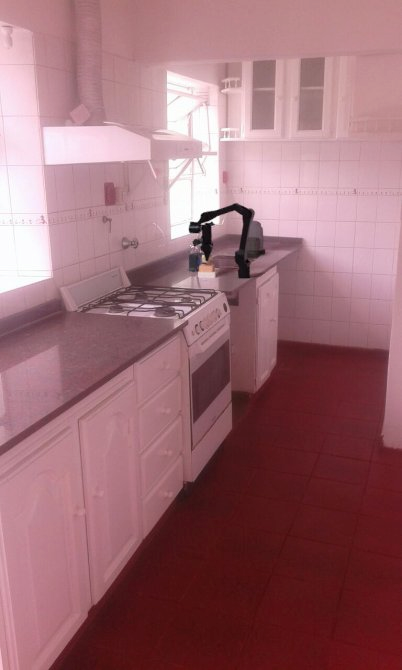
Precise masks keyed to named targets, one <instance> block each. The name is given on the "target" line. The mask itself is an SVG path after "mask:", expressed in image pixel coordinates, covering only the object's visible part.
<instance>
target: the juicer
mask: <svg viewBox="0 0 402 670" xmlns="http://www.w3.org/2000/svg"><path fill="white" fill-rule="evenodd" d="M265 254H266V249H265V248H264V228H263V227H262V224H261V222H259V221H257V220H253V221H252V223H251V225H250V231H249V237H248V243H247V259H258V258H259V257H261V256H263V255H265Z"/></svg>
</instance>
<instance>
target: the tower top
mask: <svg viewBox="0 0 402 670" xmlns="http://www.w3.org/2000/svg"><path fill="white" fill-rule="evenodd" d="M214 270H216V264H215V263H206V264H201V265H200V266H199V271H198V272H213V271H214Z"/></svg>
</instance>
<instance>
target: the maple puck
mask: <svg viewBox="0 0 402 670" xmlns="http://www.w3.org/2000/svg"><path fill="white" fill-rule="evenodd" d="M202 262H203V263H206V264H212V262H213V254H210V256H209V259H208V261H206V259H205V255H202Z"/></svg>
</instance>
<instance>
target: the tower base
mask: <svg viewBox="0 0 402 670" xmlns="http://www.w3.org/2000/svg"><path fill="white" fill-rule="evenodd" d="M216 276H217V269H215V270H214V271H213V272H199V271H197V278H199V279H200V278H201V279H202V278H203V279H204V278H205V279H207V278H208V279H209V278H210V279H211V278H212V279H214V278H216Z"/></svg>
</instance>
